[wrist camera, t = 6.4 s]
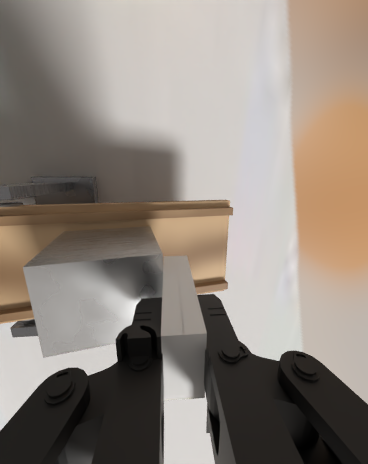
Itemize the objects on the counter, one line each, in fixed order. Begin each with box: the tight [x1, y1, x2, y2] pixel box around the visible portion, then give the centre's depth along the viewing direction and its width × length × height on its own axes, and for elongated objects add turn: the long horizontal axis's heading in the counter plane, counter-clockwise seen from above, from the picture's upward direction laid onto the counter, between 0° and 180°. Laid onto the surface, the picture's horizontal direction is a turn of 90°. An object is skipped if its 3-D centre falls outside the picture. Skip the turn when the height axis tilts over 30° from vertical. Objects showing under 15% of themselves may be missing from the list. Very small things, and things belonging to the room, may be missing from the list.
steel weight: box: [23, 226, 163, 358], centre depth 13 cm, size 5×6×6 cm
